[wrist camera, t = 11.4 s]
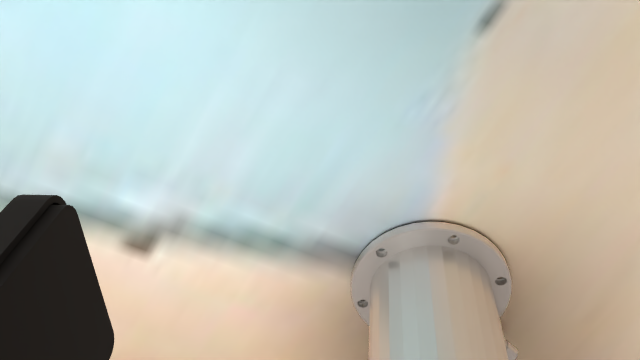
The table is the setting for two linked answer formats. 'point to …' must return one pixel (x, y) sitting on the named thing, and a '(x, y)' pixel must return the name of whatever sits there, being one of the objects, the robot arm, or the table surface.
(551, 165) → the table surface
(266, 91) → the table surface
